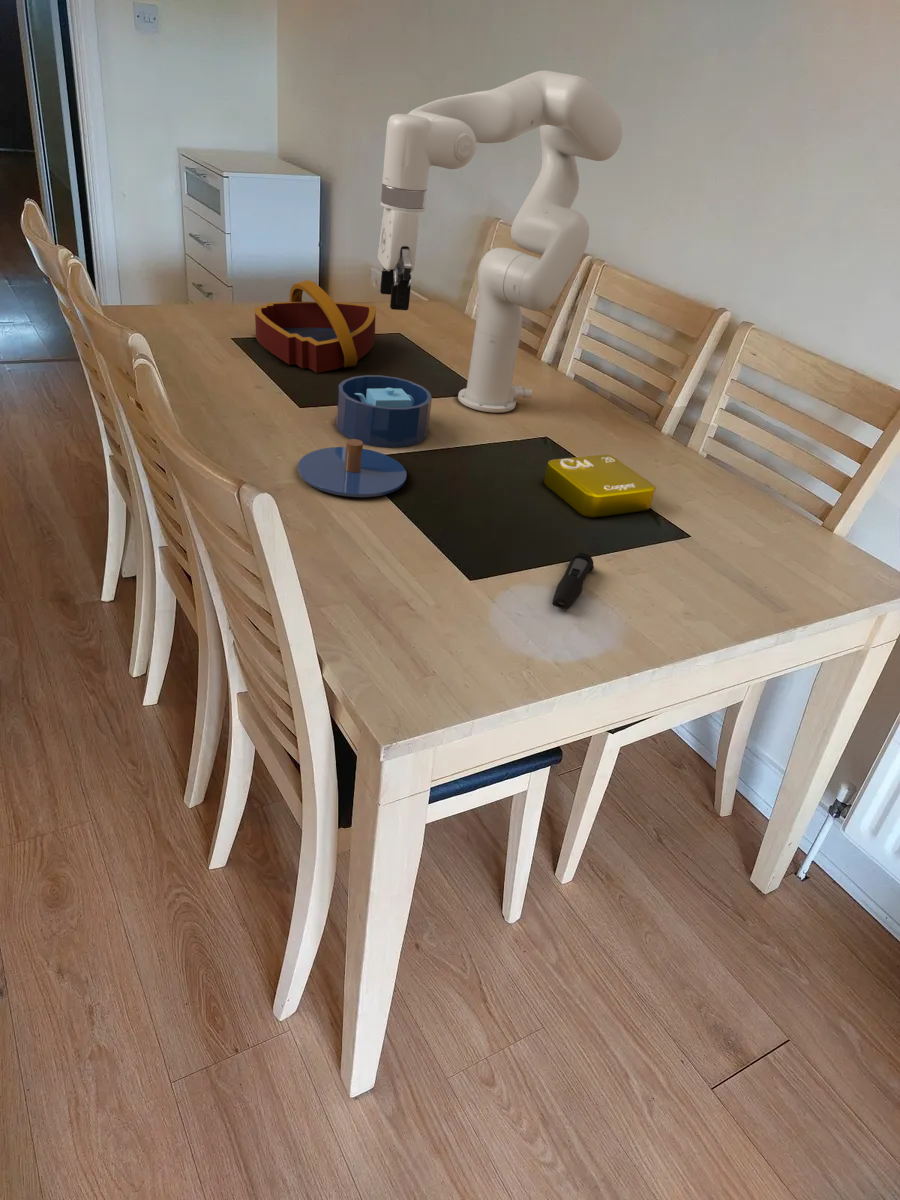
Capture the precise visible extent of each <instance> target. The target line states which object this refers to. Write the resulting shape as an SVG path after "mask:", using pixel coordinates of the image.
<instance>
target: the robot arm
mask: <svg viewBox="0 0 900 1200" xmlns="http://www.w3.org/2000/svg"><path fill="white" fill-rule="evenodd" d="M537 128H539V136H540V146H541V166H540V172H539V174H538V175H537V177H536V180H535V182H534V184H533V186H532V188H531V189H530V191H529V193H528V195H527V196H526V198H525V200H524V202H523V204H522V205H521V206H520V209H519V210H518V212H517V214H516V216H515V218H514V220H513V222H512V224H511V228H510V236H511V240H512V241H513V243H514V244H515V246H517V247H518V248H521V249H523V250H525V251H528V252H530V253H533V254H536V255H539V256H541V257H537V256H534V255H531V254H528V253H525V252H524V251H523V252H522V251H519V250H516V249H514V248H510V247H509V248H508V247H496V248H491V249H490V250H488V251H487V252H486V253H485V254H484V255H483V257H482V258H481V260H480V262H479V266H478V270H477V271H478V272H477V285H478V286H477V289H478V303H477V315H476V322H475V329H474V335H473V342H472V348H471V354H470V355H471V356H470V362H469V369H468V374H467V381H466V387H465V388H463V389H460V390H459V392H458V395H457V399H458V401H459V403H461V404H462V405H464V406H465V407H467V408H470V409H473V410H476V411H479V412H485V413H496V414H497V413H498V414H500V413H501V414H502V413H508V412H510V411H512V410H514V409H515V408H516V405H517V401H516V400H517V399H518V398H523V399H531V398H532V396H533V390H532V389H531V388H524V386H522V385H515V384H513V379H514V376H515V375H514V374H515V369H516V364H517V363H516V362H517V357H518V351H519V346H520V340H521V334H522V329H523V315H522V309H521V308H524V309H527V310H530V311H534V312H544V311H546V310H548V309H549V308H551V307H552V306H553V305H554V303H555V302H556V301H557V299H558V298H559V296H560V295H561V293H562V291H563V290H564V288H565V286H566V285H567V283H568V281H569V280H570V278H571V276H572V275H573V273H574V271H575V269H576V267H577V266H578V264H579V263H580V261H581V259H582V258H583V255H584V254H585V251H586V248H587V246H588V243H589V238H590V225H589V222H588V220H587V218H586V217H585V216H584V215H583V214H582V213H581V212H579V211H577V210H575V209H571V207H572V205H573V204H574V201H575V199H576V198H577V196H578V193H579V189H580V175H579V172H578V166H577V159H576V157H577V158H582V159H586V160H590V161H595V162H603V161H607V160H609V159H611V158H612V157H613V156H614V155H615V154H616V153H617V151H618V150H619V148H620V146H621V143H622V139H623V125H622V122H621V118H620V117H619V115H618V113H617V112H616V111H615V109H614V108H613V107H612V106H611V105H610V104H609V102H608V101H607V100H606V99H605V97H604V96H603V94H601V93H600V91H599V90H598V89H597V88H596V87H595V86H594V85H593V84H592V83H591V82H590V81H588V80H587V78H586V79H585V78H584V77H582V76H580V75H576V74H570V73H565V72H558V71H553V70H546V69H545V70H537V71H534V72H531V73H529V74H526V75H524V76H521V77H519V78H517V79H514V80H512V81H509V82H506V83H505V84H502V85H500V86H498V87H495V88H492V89H488V90H479V91H474V92H470V93H465V94H459V95H453V96H448V97H443V98H439V99H435V100H433V101H430V102H428V103H425V104H422V105H420V106H418V107H416V108H414V109H412V110H410V111H409V112H408V113H407V114H406V113H394V114H391V115H390V116H389V117H388V120H387V124H386V133H385V143H384V145H385V146H384V157H383V169H382V172H383V173H382V182H381V193H380V194H381V195H380V206H381V207H383V213H382V218H381V224H380V235H379V241H378V249H377V250H378V251H377V260H378V261H379V263H380V264H381V266H382V270H381V277H380V289H379V292H380V294H381V295H388V296H389V295H390V303H389V308H390V309H391V310H395V311H408V310H409V307H410V299H411V298H410V297H411V286H412V275H411V273H412V272H413V271H414V270H415V265H416V259H417V258H416V257H417V249H418V248H417V247H418V237H419V236H418V234H419V219H420V213H424V212H425V210H426V201H427V190H428V182H429V173H430V167H431V166H433V167H439V168H444V169H447V170H457V169H460V168H463V167H465V166H466V165H468V164H469V163H470V162H471V161H472V159H473V158H474V156H475V153H476V149H477V143H479V144H498V143H506V142H509V141H511V140H513V139H515V138H518V137H520V136H521V135H523V134H526V133H528V132H531V131H533V130H535V129H537Z"/></svg>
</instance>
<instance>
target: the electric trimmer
mask: <svg viewBox="0 0 900 1200" xmlns="http://www.w3.org/2000/svg"><path fill="white" fill-rule="evenodd" d="M594 568H595V567H594V559H593V558H592V556H591V555H590V554H587V553H585V552H577V553H576V554H574V555H573V556H572V557H571V558H570V559H569V563H568V566H567V568H566V570H565V573H564V574H563V576H562V578H561V579H560V581H558V584H557V586H556V589H555V592H554V595H553V598H552V602H551V605H552V606H554V607H557V608H559V609H563V610H566V611H567V610H569V609H570V608H571V607H572V606H573V604H574V603H575V602H576V601H577V599H578V598H579V597H580V595H581V594H582V593H583V586H584V582H585V580H586V578H587V576H588V574H589V572H593V570H594Z"/></svg>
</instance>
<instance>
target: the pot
mask: <svg viewBox="0 0 900 1200" xmlns="http://www.w3.org/2000/svg"><path fill="white" fill-rule="evenodd" d="M385 388H401V389H403V391H404V392H405V393H406V394H407V395H410V396H412V398H413V399H414V403H413V406H412V407H406V408H389V407H381V406H374V405H370V404H366V403H363V402H361V399H360V397H359V396H357V395H355V394H354V393H361V394H363V395H364V396H365V399H366V394H367V389H385ZM432 401H433V397H432V394H431V392H430V391H429V390H428V389H427V388H425V387H424V386H423V385H421V384H419V383H417V382H413V381H412V380H408V379H404V378H401V377H396V376H387V375H382V374H381V375H380V374H378V375H376V374H373V375H372V374H367V375H358V376H352V377H349V378H346V379H344V380H342V381H341V382H340V383H339V384H338V387H337V403H336V416H335V417H336V418H335V420H336V421H335V422H336V423H335V425H336V429H337V430H338V432H340V433H341V434H342V435H343V436H345V438H348V439H358V440H361V441H362V442H363V445H369V446H373V447H379V448H380V447H381V448H402V447H410V446H413V445H417V444H420V443H421V442H423V441H425V439H426V437H427V435H428V433H429V427H430V418H431V417H430V416H431V410H432V403H433V402H432Z"/></svg>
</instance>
